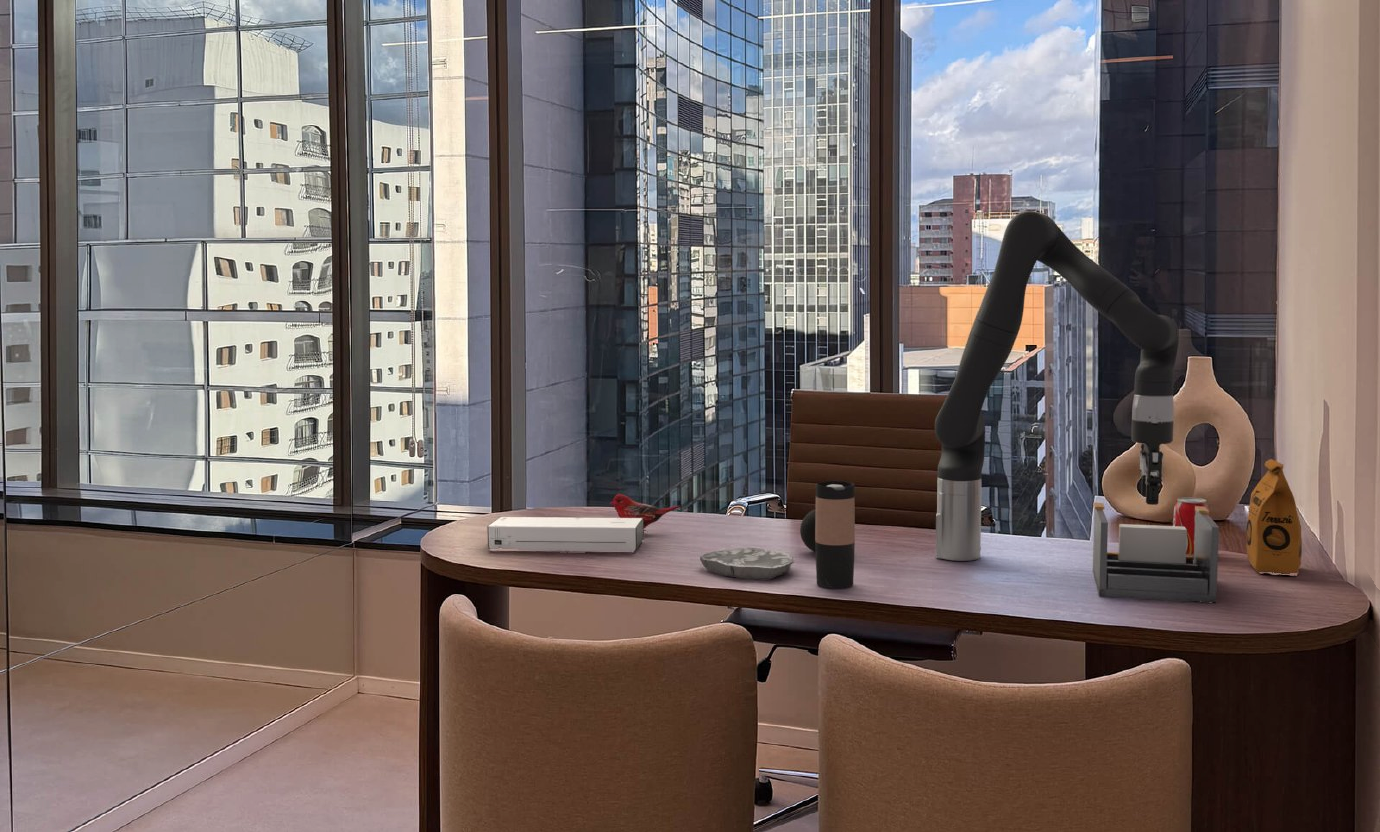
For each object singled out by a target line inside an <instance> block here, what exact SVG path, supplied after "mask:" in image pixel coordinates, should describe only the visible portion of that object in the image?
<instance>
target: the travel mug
mask: <svg viewBox="0 0 1380 832" xmlns="http://www.w3.org/2000/svg"><path fill="white" fill-rule="evenodd" d="M855 506H856V505H855V484H854V483H853V482H850V481H843V480H842V481H841V480H826V481H825V480H824V481H819V482H816V483H815V509H816V523H815V541H816V542H815V546H816V552H815V572H816V575H815V577H816V585H817V586H818V587H820V588H824V589H829V590H842V589H843V590H844V589H849V588H851V587H853V586H854V577H855V576H854V573H855V549H856V548H855V547H856V545H855V544H856V533H855V532H856V531H855V530H856V528H855V527H856V526H855V525H856V522H855V518H856V517H855V516H856V515H855V514H856V512H855V510H856V509H855Z"/></svg>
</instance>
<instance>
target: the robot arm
mask: <svg viewBox="0 0 1380 832" xmlns="http://www.w3.org/2000/svg"><path fill="white" fill-rule="evenodd" d="M1037 261H1038V262H1039V263H1041V264H1043V265H1044V266H1046V267H1047V268H1050V269H1051V270H1053V271H1054V272H1055V273H1057V274H1058V275H1060V276H1061V277H1062V278H1063V279H1064V280H1065V281H1066V282H1068V284H1069V285H1070V286H1071V287H1072V288H1073V289H1074V290H1075V291H1076V292H1077V293H1078V294H1079V295H1080V296H1081V298H1082V299H1084V301H1085V302H1086V303H1088V304H1089V305H1090V306H1091V307H1093V308H1094V309H1095V310H1096V311H1098V312H1099V314H1101V315H1102V316H1104V317H1105V318H1106V319H1107V320H1108V321H1110V322H1112V323H1113V324H1114V325H1115V326H1116V328H1118V330H1120V332H1121V333H1122V334H1123V335H1124V336H1125V337H1126V338H1127V339H1128V340H1129V341H1130V342H1131V343H1132V344H1134V345H1135V346H1136V347H1138V348H1139V349H1141V350H1140V361H1139V365H1138V366H1137V367H1136V369H1135V373H1134V374H1135V375H1134V385H1133V386H1134V391H1133V392H1134V395H1133V401H1132V409H1131V412H1132V413H1131V438H1130V439H1131V441H1132V442H1133V443H1137V444H1141V445H1140V450H1139V471H1140V477H1141V496H1142V497H1145V503H1146V504H1147V505H1152V506H1153V505H1154V506H1155V505H1158V504H1159V499H1160V496H1159V495H1160V486H1161V484H1162V482H1163V479H1162V478H1163V477H1162V476H1163V462H1164V453H1163V451H1160V449H1161V448H1160V446H1161V445H1167V444H1171V443H1173V441H1174V420H1175V403H1174V383H1175V382H1174V381H1175V380H1174V379H1175V376H1174V372H1175V365H1176V361H1177V360H1176V359H1177V355H1178V351H1179V345H1180V344H1179V341H1180V333H1179V328H1178V325H1177V323H1176V322H1175V321H1174V319H1172V318H1171V317H1170V316H1167V315H1164V314H1157V313H1155V312H1154V311H1153V310H1151V309H1150V308H1149V307H1148V306H1147V305H1146V304H1144V303H1143V302H1142V301H1141V298H1140V297H1139V295H1138V294H1136V292H1135V291H1134V290H1132V289H1131V288H1130V287H1129V286H1127V285H1126V284H1124V283H1123V282H1122V281H1121V280H1120V279H1118V278H1117V277H1116V276H1114V275H1113V274H1112V273H1111V272H1109V271H1108V270H1106V269H1105V268H1104V267H1102V266H1101V265H1099V263H1096V261H1094V260H1092V259H1091V258H1090V257H1089V256H1087V255H1086V253H1084V252H1083V251H1082V250H1080V248H1078V247H1077V246H1076V244H1075V243H1073V241H1071V239H1069V237H1068V236H1067V235H1066V233H1065V232H1064V231H1063V230H1062V229H1061V228H1060V227H1059V225H1058V224H1057V223H1056V222H1055V220H1053V218H1051V217H1050V216H1048V215H1046V214H1044V213H1041V212H1038V211H1035V210H1034V211H1033V210H1025V211H1020V212H1019V213H1017V214H1016V215H1014V216H1012V218H1011V219H1010V220H1009V222H1008V224H1007V226H1006V227H1005V230H1004V232H1003V237H1002V241H1001V244H1000V248H999V252H998V256H997V260H996V264H995V267H994V271H993V273H992V276H991V278H990V281H989V283H988V285H987V288H986V291H985V293H984V296H983V298H982V299H981V303H980V306H979V309H978V310H977V313H976V315H975V318H974V321H973V323H972V326H971V328H970V331H969V333H968V337H967V341H966V343H965V346H964V349H963V353H962V355H961V358H960V361H959V366H958V368H957V372H956V375H955V378H954V381H953V382H952V386H951V387H950V390H949V391H948V393H947V396H946V398H945V400H944V401H943V404H942V405H941V408H940V409H939V411H938V414H937V415H936V417H935V421H934V431H935V436H936V439H937V440H938V442H939V443H941V454H940V459H939V462H938V465H937V482H936V483H937V487H936V488H937V491H936V493H937V495H936V496H937V498H936V505H937V507H936V514H935V515H936V517H935V558H936V559H943V560H948V561H957V562H962V561H963V562H965V561H967V562H968V561H969V562H970V561H975V560H976V561H977V560H979V559H980V558H981V550H982V549H981V547H982V546H981V542H982V541H981V537H982V536H981V535H982V533H981V532H982V531H981V530H982V475H983V474H982V472H983V471H982V470H983V467H984V464H985V450H986V447H985V446H986V422H985V417H984V414H983V413H982V409H983V406H984V403H985V399H986V398H987V394H988V392H989V391H990V389H991V386H992V384H993V383H994V381H995V380H996V378H997V377H998V375H999V374H1000V372H1001V371H1002V369H1003V367H1004V366H1005V364H1006V362H1007V360H1008V359H1009V356H1010V354H1011V352H1012V350H1013V348H1014V345H1015V342H1016V339H1017V338H1018V335H1019V331H1020V330H1021V326H1022V322H1023V317H1024V316H1023V315H1024V307H1025V299H1026V298H1025V296H1026V291H1027V290H1026V289H1027V285H1028V283H1029V280H1030V276H1031V275H1032V272H1033V269H1034V267H1035V265H1036V263H1037Z"/></svg>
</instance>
